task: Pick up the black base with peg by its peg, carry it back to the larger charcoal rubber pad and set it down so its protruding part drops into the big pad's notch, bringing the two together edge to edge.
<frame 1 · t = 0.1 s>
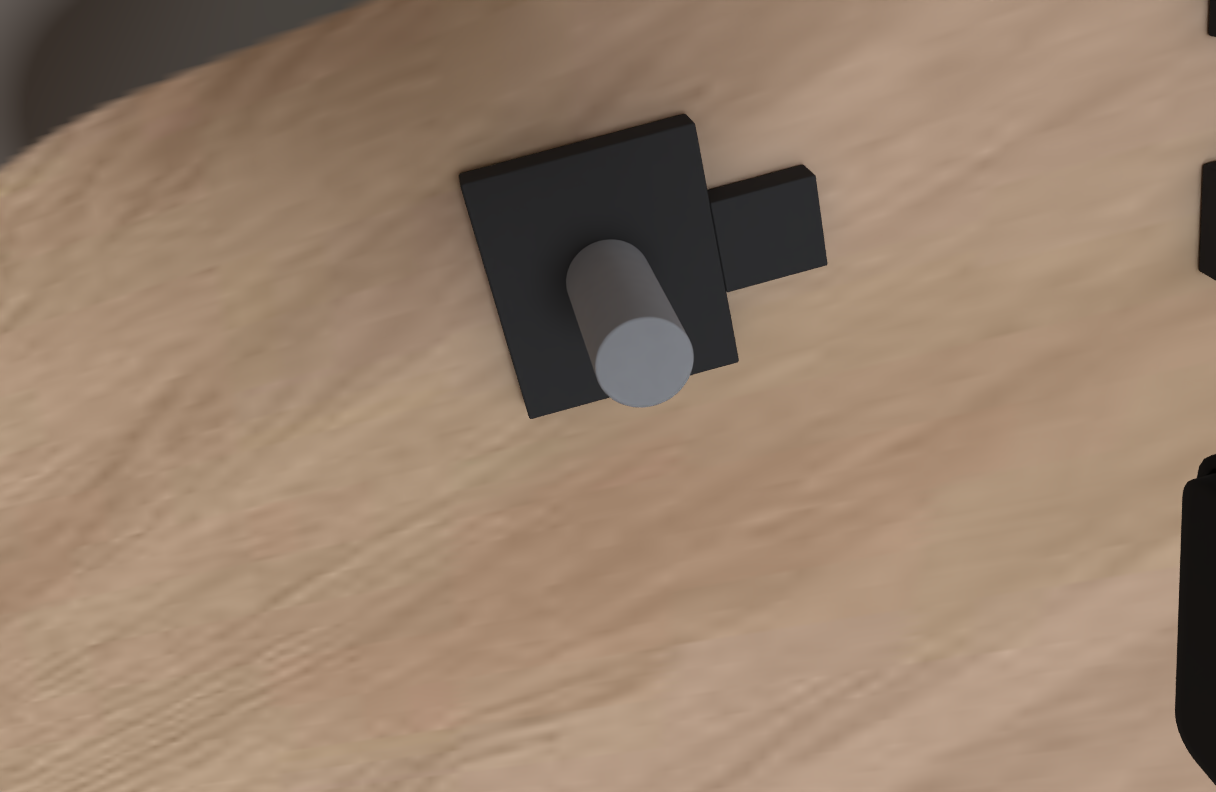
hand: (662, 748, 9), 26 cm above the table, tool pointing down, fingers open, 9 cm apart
black base with peg: (602, 265, 35), on the table
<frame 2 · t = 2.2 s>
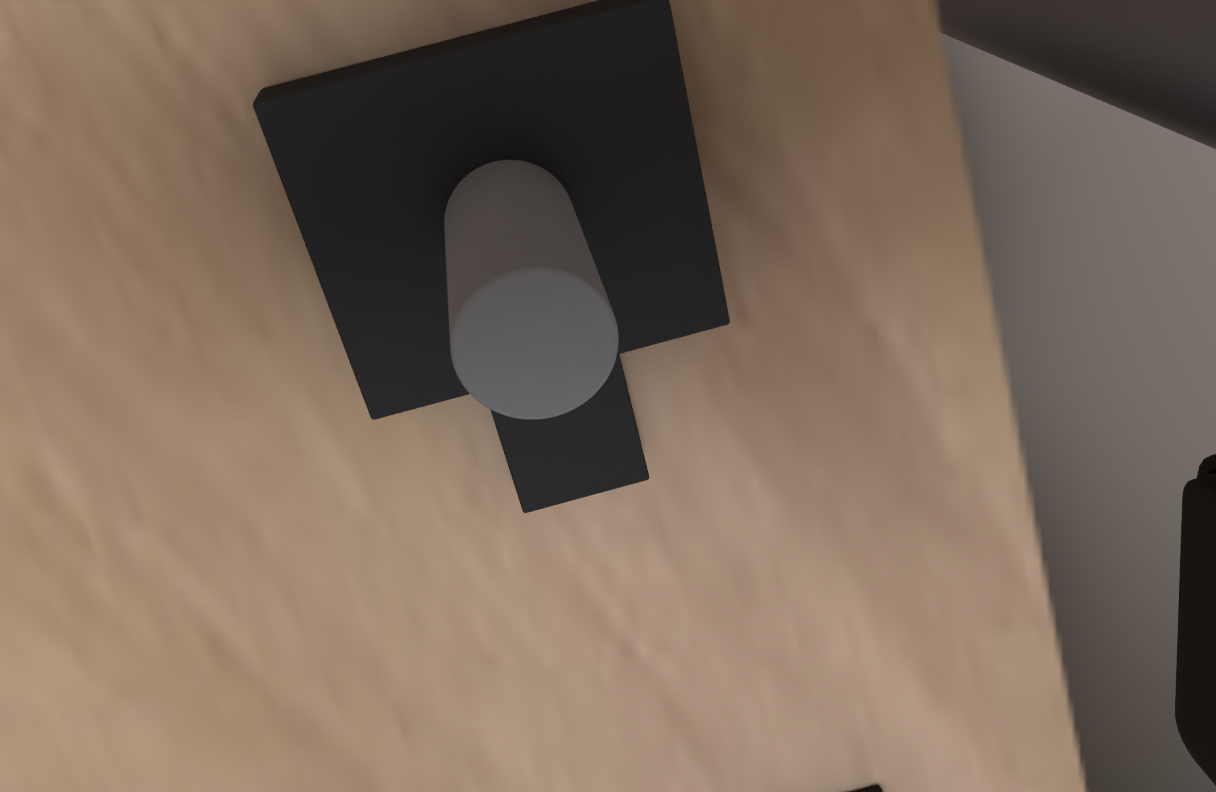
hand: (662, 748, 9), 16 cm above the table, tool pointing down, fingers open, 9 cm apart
black base with peg: (505, 204, 24), on the table
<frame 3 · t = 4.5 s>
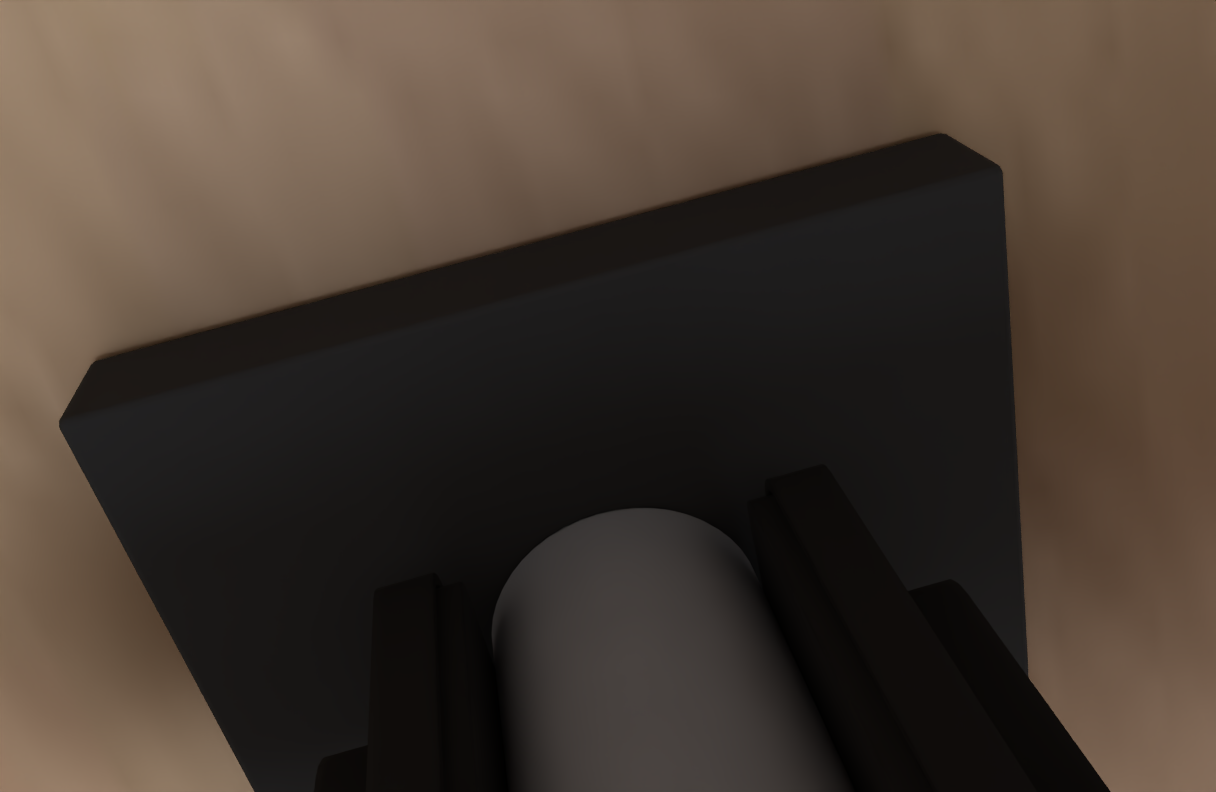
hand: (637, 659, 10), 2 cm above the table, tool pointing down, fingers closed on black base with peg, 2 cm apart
black base with peg: (607, 547, 12), on the table, touching gripper
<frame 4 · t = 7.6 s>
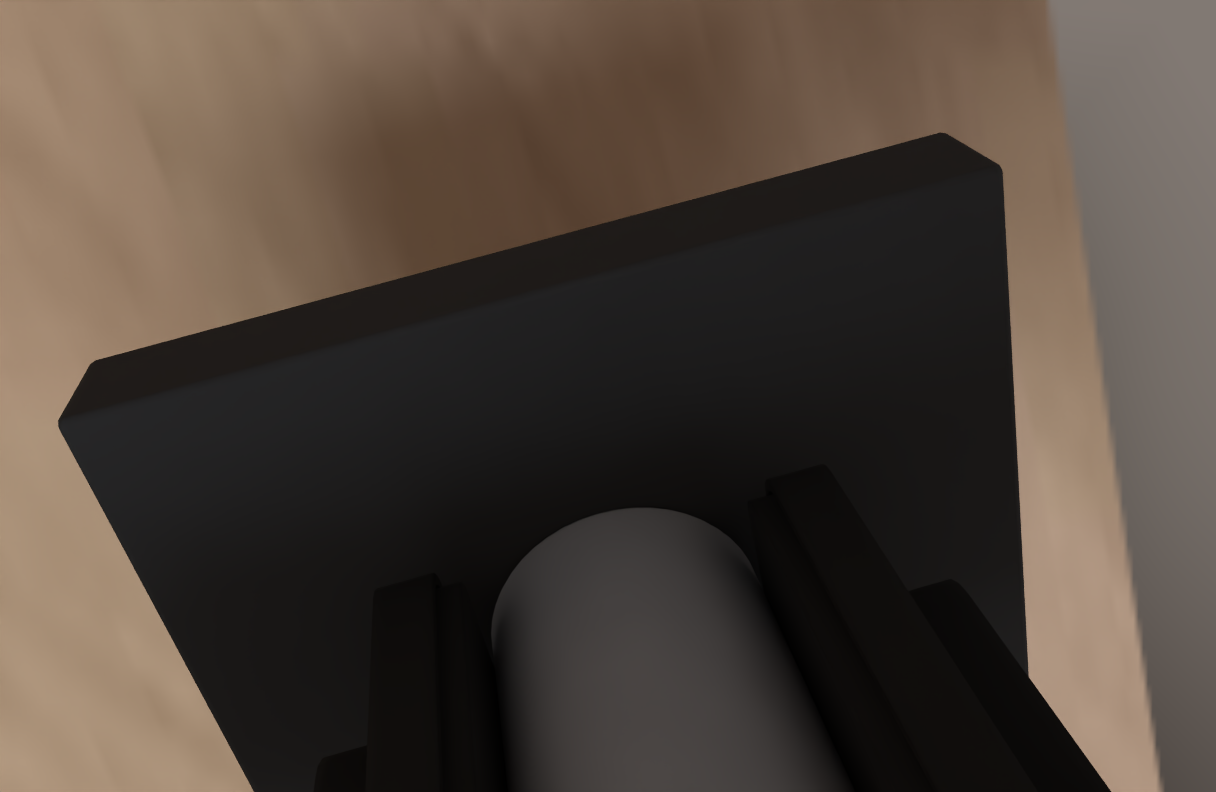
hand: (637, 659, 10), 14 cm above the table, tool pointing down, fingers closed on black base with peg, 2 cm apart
black base with peg: (606, 547, 12), point 13 cm above the table, touching gripper
when the fingers open (2 cm above the table, at t = 10.6 s): black base with peg stays where it is, on the table.
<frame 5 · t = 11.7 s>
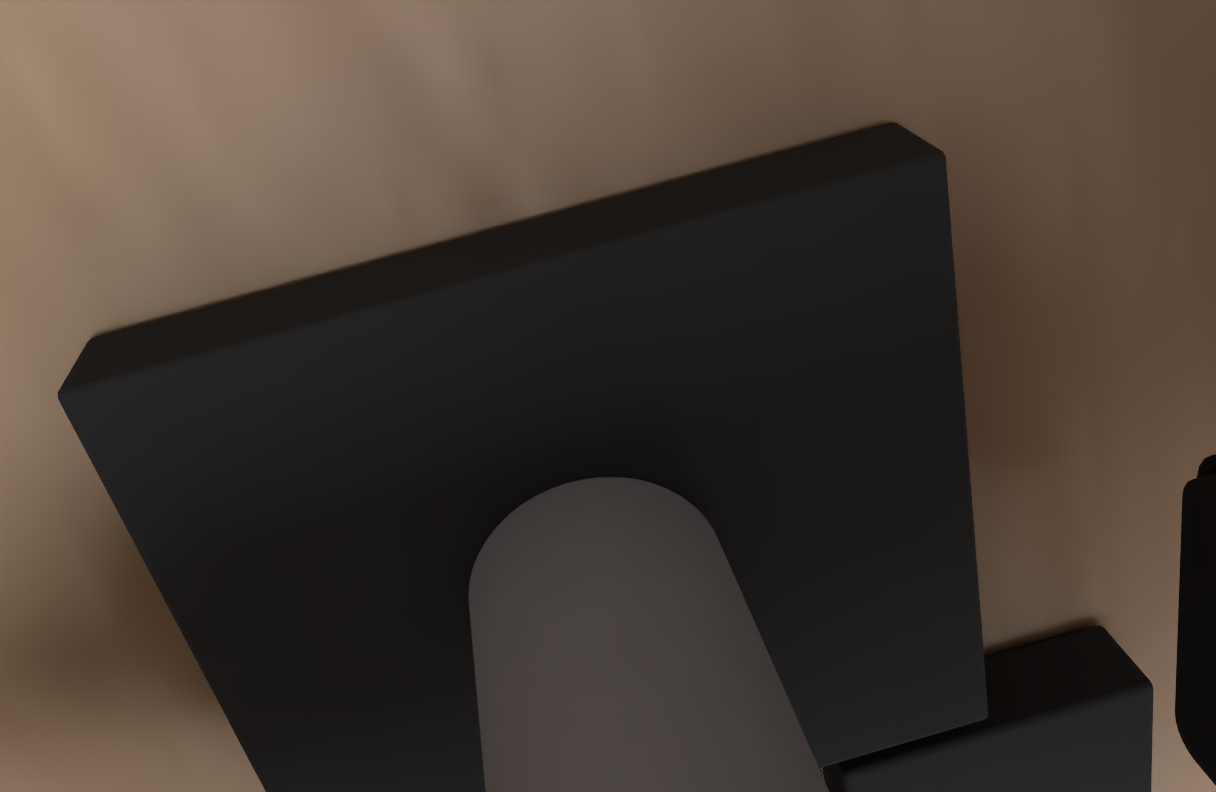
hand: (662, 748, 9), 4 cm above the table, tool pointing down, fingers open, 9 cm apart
black base with peg: (580, 518, 12), on the table
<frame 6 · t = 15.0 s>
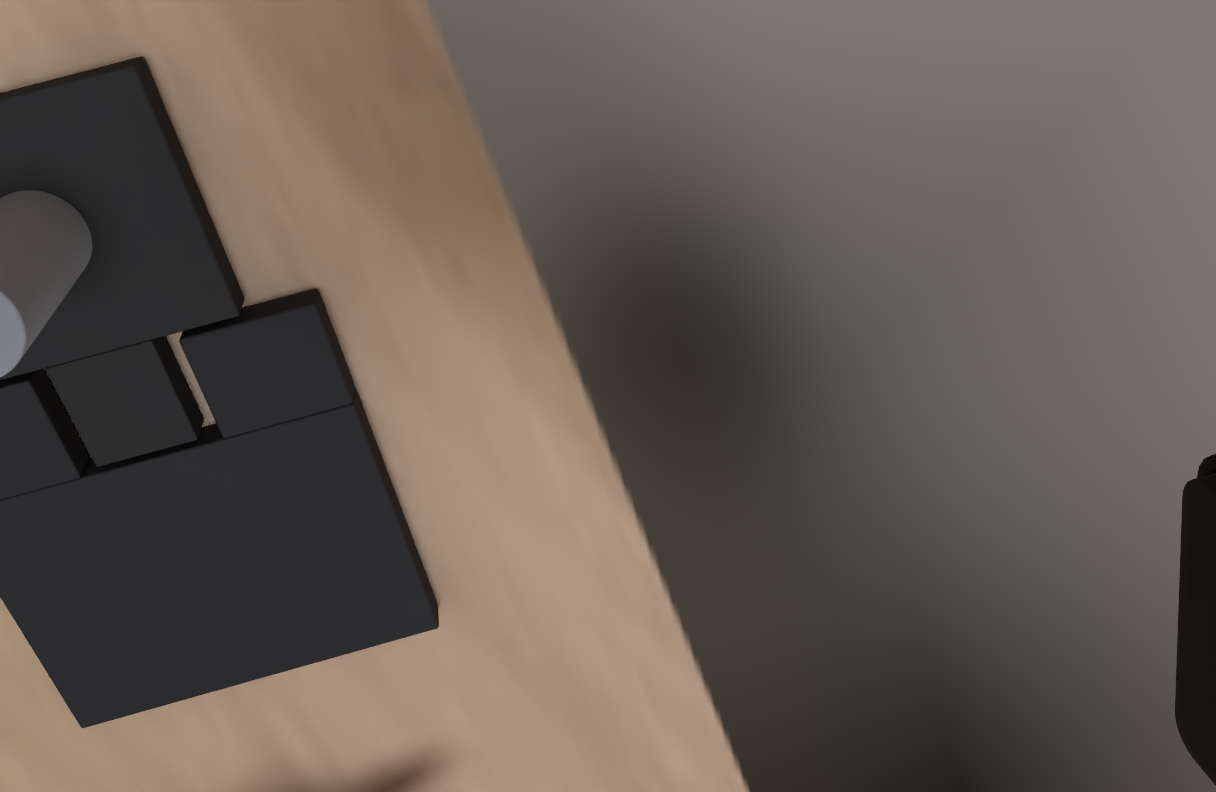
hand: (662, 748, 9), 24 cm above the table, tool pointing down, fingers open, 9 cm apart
big pad: (195, 511, 35), on the table
black base with peg: (52, 223, 30), on the table
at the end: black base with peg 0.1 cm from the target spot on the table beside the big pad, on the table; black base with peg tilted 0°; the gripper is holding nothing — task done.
